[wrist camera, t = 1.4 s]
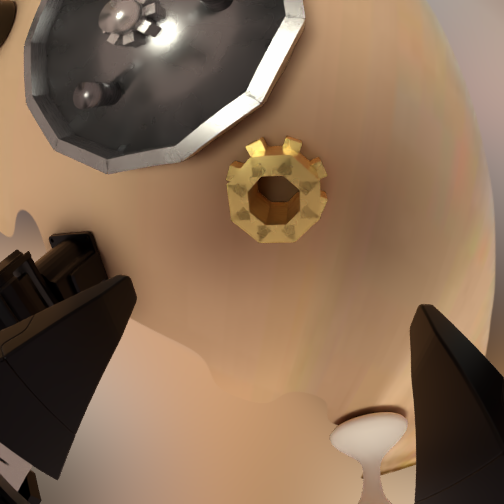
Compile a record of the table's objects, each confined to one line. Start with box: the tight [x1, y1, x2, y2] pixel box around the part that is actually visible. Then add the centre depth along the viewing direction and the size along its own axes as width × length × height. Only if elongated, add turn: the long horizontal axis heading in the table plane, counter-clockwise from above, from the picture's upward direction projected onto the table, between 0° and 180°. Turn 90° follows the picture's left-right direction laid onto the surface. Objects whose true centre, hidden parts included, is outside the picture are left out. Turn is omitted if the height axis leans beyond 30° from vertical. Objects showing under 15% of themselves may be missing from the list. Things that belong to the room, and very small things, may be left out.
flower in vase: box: [330, 412, 408, 504], centre depth 21 cm, size 13×11×25 cm
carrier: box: [24, 0, 305, 174], centre depth 12 cm, size 21×21×4 cm
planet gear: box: [226, 136, 328, 243], centre depth 17 cm, size 6×6×4 cm
